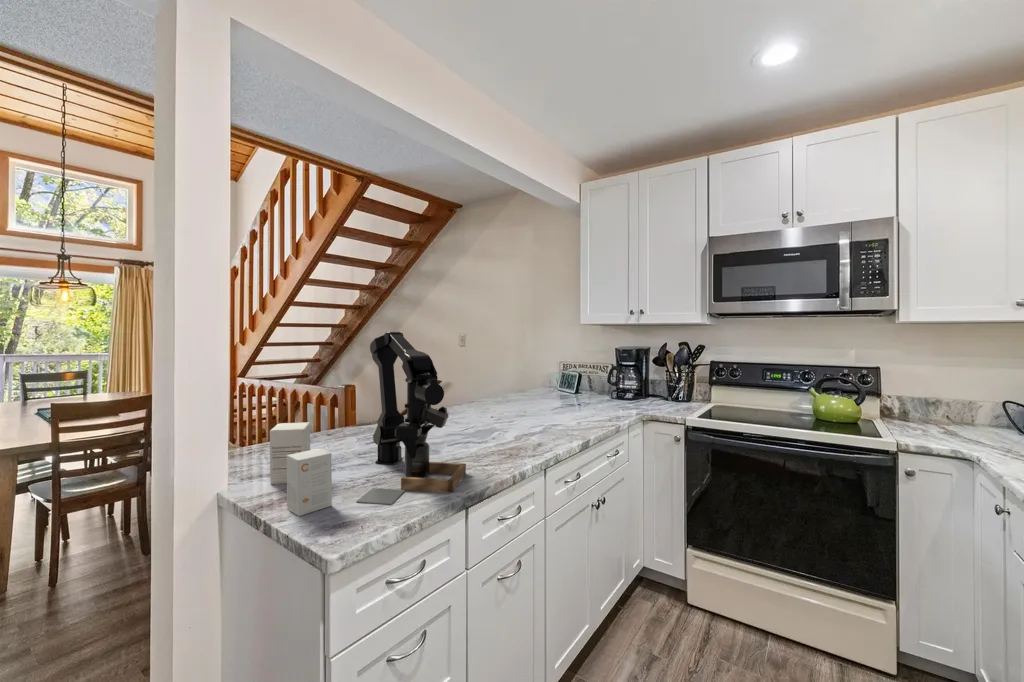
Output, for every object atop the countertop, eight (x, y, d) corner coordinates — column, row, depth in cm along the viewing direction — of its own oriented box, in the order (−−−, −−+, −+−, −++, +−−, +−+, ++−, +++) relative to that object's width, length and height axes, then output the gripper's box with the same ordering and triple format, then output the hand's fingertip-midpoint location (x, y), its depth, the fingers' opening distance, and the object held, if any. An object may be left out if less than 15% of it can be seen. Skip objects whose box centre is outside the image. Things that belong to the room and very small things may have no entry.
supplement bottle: (433, 473, 127) (434, 432, 126) (421, 481, 120) (422, 437, 120) (412, 470, 129) (413, 429, 129) (399, 478, 123) (400, 435, 122)
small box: (319, 499, 110) (319, 447, 110) (332, 506, 106) (332, 452, 106) (286, 509, 104) (285, 454, 104) (298, 517, 100) (297, 460, 100)
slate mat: (356, 502, 109) (356, 501, 108) (372, 489, 117) (372, 488, 117) (391, 504, 107) (391, 503, 107) (405, 491, 116) (405, 490, 116)
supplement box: (277, 473, 129) (277, 422, 128) (311, 471, 131) (310, 421, 130) (268, 484, 120) (268, 430, 119) (304, 482, 122) (304, 428, 122)
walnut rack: (401, 489, 117) (401, 478, 117) (420, 471, 132) (420, 461, 132) (452, 492, 116) (452, 481, 116) (465, 473, 130) (465, 463, 130)
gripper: (435, 406, 114) (435, 466, 114) (454, 395, 132) (453, 446, 133) (394, 405, 115) (393, 464, 116) (418, 393, 134) (417, 444, 134)
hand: (417, 454), depth 125 cm, fingers closed on supplement bottle, 7 cm apart
